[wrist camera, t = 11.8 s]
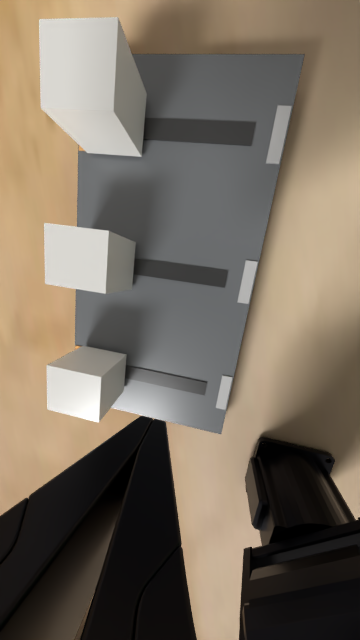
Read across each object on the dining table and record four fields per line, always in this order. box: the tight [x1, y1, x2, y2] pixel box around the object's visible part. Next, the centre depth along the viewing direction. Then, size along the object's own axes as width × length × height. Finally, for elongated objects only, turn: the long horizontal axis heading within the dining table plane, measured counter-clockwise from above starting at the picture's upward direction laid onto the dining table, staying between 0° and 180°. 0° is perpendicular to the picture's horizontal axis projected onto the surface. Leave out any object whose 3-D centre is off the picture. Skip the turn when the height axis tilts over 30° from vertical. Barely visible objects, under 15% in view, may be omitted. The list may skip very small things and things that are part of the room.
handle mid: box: [44, 223, 136, 294], centre depth 14 cm, size 4×4×4 cm
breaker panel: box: [75, 54, 305, 434], centre depth 16 cm, size 14×26×2 cm, turn 172°
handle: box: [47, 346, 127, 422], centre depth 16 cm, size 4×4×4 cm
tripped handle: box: [39, 17, 147, 157], centre depth 12 cm, size 4×4×4 cm
